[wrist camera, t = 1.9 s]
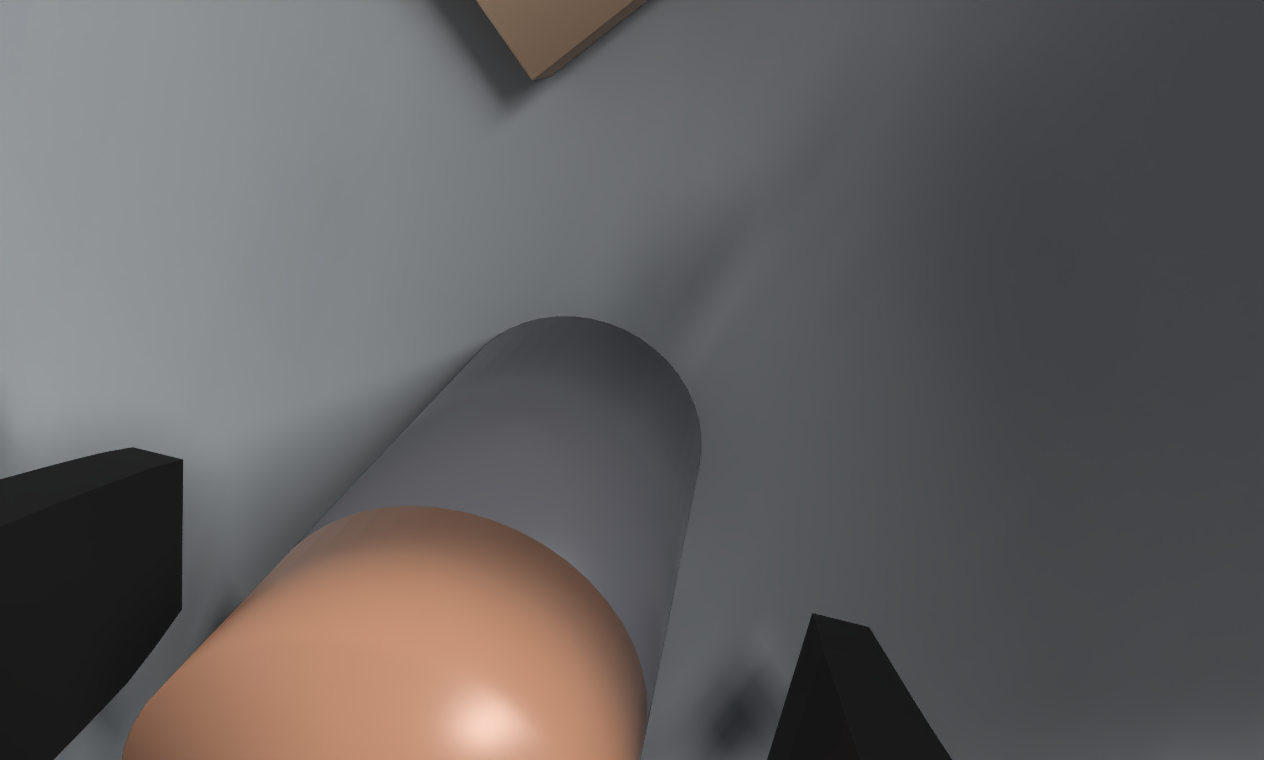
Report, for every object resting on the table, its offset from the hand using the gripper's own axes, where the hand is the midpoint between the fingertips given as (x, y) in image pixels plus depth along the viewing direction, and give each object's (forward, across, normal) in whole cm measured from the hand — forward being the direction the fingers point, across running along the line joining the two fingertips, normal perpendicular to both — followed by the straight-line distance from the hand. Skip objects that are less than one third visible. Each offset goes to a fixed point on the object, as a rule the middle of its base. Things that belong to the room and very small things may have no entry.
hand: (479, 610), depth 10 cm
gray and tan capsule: (+5, 0, 0) cm, 5 cm away
